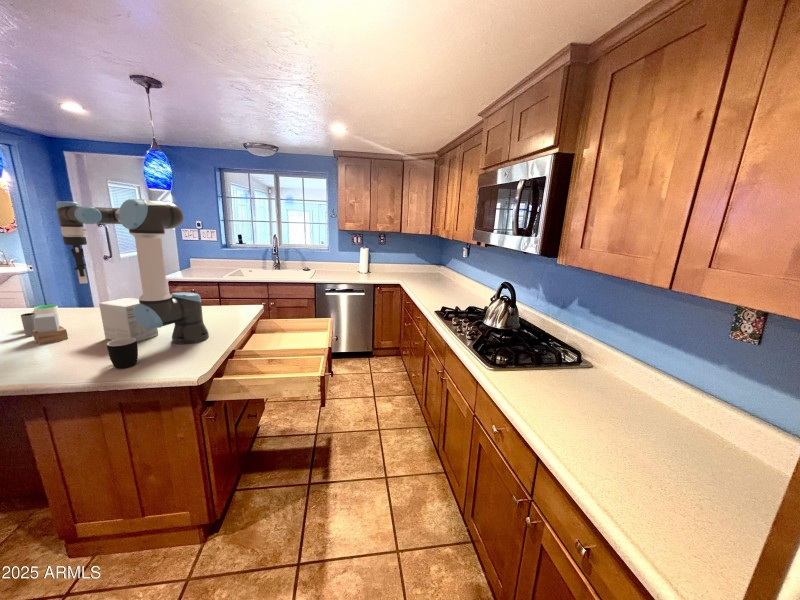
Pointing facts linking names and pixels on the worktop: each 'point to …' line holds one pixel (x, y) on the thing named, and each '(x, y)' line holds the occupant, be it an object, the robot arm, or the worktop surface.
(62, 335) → the walnut block
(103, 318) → the supplement box
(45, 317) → the slate block
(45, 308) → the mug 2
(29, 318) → the grey tall cylinder
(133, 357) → the mug
